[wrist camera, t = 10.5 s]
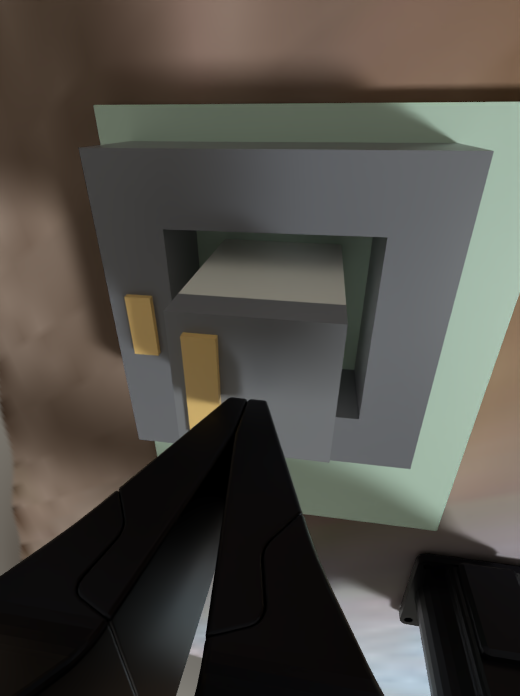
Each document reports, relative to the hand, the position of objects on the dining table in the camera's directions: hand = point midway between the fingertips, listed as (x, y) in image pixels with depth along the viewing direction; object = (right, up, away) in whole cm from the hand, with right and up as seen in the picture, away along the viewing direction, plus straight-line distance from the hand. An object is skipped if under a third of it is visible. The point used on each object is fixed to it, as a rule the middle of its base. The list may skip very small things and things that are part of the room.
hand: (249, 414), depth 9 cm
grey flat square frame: (+1, +3, +6) cm, 7 cm away
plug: (+1, +3, +6) cm, 7 cm away
